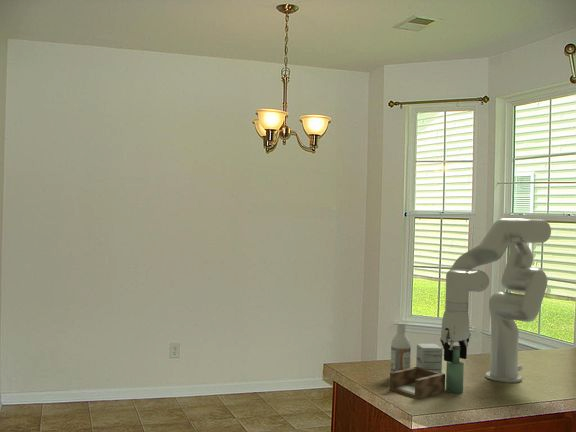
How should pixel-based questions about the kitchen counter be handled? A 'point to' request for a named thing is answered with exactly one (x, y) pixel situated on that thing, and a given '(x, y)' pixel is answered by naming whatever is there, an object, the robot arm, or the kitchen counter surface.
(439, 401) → the kitchen counter surface
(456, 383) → the green bottle
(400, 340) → the bath foam
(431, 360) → the supplement box
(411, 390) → the walnut U-rest
